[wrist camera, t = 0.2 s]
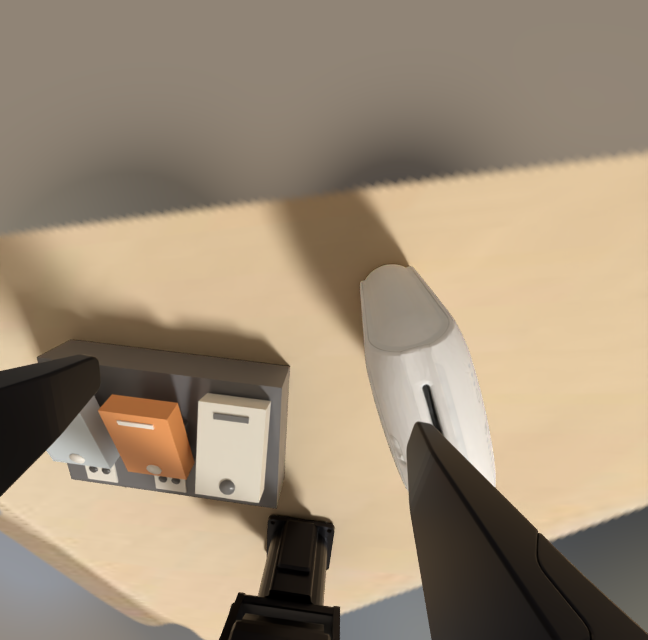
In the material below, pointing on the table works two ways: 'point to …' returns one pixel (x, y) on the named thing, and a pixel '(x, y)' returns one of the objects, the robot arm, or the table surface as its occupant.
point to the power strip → (184, 405)
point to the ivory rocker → (232, 447)
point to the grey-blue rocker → (86, 441)
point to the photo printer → (421, 368)
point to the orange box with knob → (148, 435)
